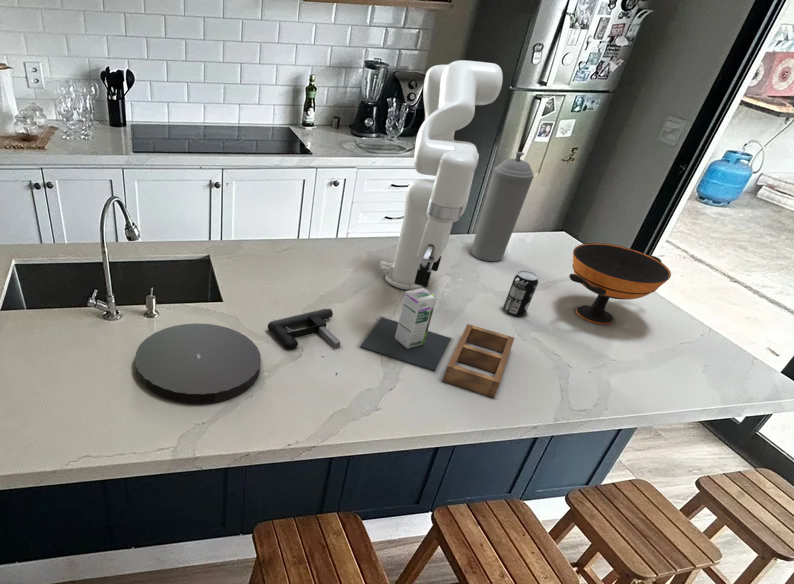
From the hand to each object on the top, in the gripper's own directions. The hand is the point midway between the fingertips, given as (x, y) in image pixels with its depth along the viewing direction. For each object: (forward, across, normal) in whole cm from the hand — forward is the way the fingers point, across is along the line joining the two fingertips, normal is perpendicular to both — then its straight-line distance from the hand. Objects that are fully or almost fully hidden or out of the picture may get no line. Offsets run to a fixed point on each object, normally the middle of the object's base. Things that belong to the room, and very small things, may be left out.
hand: (426, 277), depth 142 cm
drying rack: (+19, +1, +19) cm, 27 cm away
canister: (+21, -72, +8) cm, 75 cm away
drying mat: (+19, +1, 0) cm, 19 cm away
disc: (+19, +40, -41) cm, 61 cm away
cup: (+20, -47, +45) cm, 68 cm away
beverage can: (+20, -35, +23) cm, 46 cm away
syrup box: (+19, +1, 0) cm, 19 cm away
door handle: (+19, +12, -24) cm, 33 cm away
